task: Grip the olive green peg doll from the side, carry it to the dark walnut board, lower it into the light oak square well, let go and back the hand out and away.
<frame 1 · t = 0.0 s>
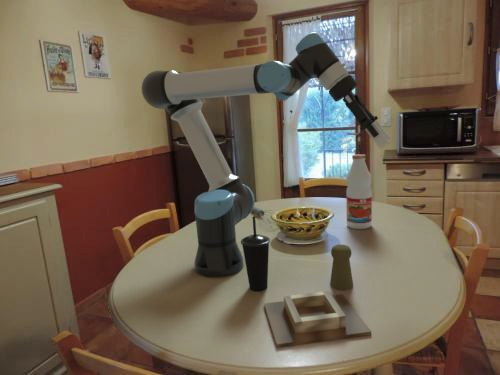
hand: (385, 143, 99), 36 cm above the table, tool tilted 35°, fingers open, 13 cm apart
well board: (313, 319, 82), on the table
kitchen whisk: (261, 219, 160), on the table
olive green peg doll: (341, 285, 97), on the table
fruit juice: (359, 226, 142), on the table
drinking cup: (258, 287, 98), on the table
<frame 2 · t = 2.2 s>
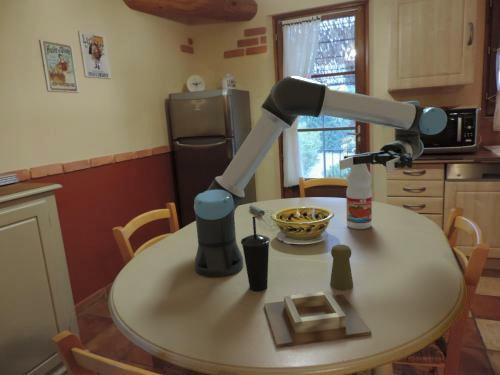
hand: (362, 166, 98), 30 cm above the table, tool horizontal, fingers open, 13 cm apart
nothing on the table moved.
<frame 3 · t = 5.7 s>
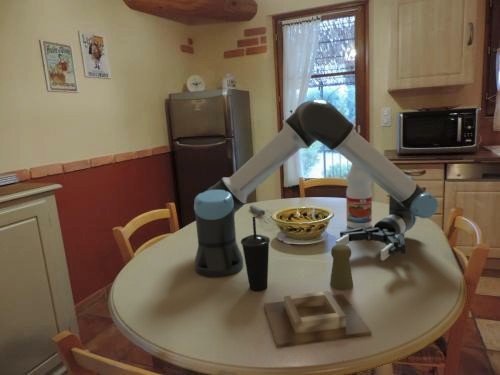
hand: (358, 250, 102), 7 cm above the table, tool horizontal, fingers open, 13 cm apart
nothing on the table moved.
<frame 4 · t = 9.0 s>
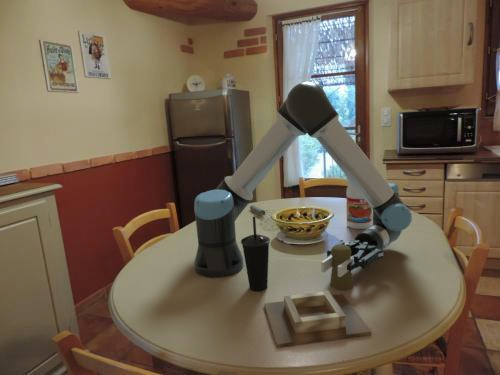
hand: (330, 269, 92), 7 cm above the table, tool horizontal, fingers closed on olive green peg doll, 4 cm apart
olive green peg doll: (341, 285, 97), on the table, touching gripper
everything else where it was.
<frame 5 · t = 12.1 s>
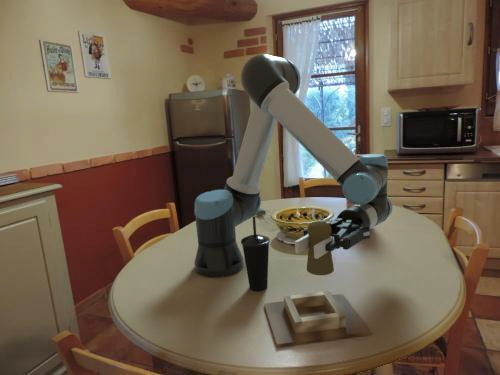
hand: (306, 249, 76), 18 cm above the table, tool horizontal, fingers closed on olive green peg doll, 4 cm apart
olive green peg doll: (320, 270, 81), point 11 cm above the table, touching gripper
everything else where it was.
when the fingers open (9 cm above the table, at t = 15.0 s): olive green peg doll drops 1 cm, resting on well board.
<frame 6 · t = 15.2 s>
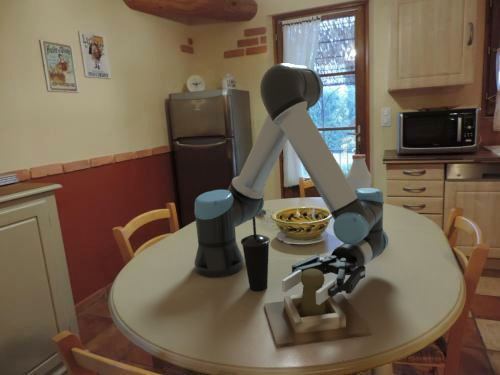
hand: (299, 292, 77), 9 cm above the table, tool horizontal, fingers open, 8 cm apart
olive green peg doll: (313, 316, 82), point 1 cm above the table, touching well board
everything else where it was.
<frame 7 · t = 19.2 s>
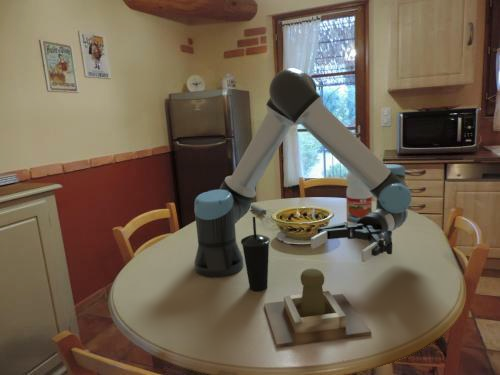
hand: (336, 249, 86), 14 cm above the table, tool horizontal, fingers open, 13 cm apart
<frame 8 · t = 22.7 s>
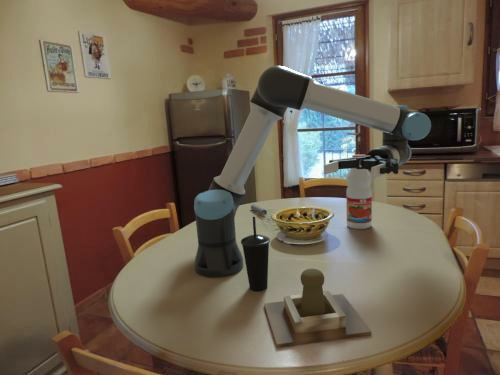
hand: (347, 171, 95), 30 cm above the table, tool horizontal, fingers open, 13 cm apart
at the end: olive green peg doll 0.1 cm off-centre on the well board, point 0.6 cm above the well board's base; olive green peg doll tilted 0°; the gripper is holding nothing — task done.
